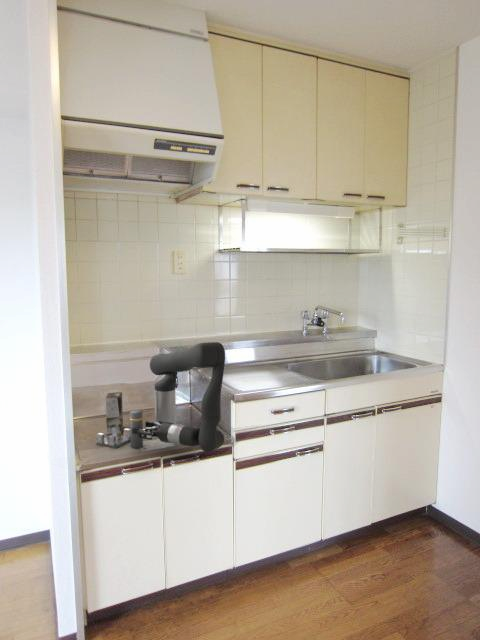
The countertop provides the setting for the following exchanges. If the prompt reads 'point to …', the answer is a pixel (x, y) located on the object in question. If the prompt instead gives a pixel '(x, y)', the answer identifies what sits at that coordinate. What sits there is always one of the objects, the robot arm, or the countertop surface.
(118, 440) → the bracket
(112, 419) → the coffee box
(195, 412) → the countertop surface
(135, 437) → the tube
